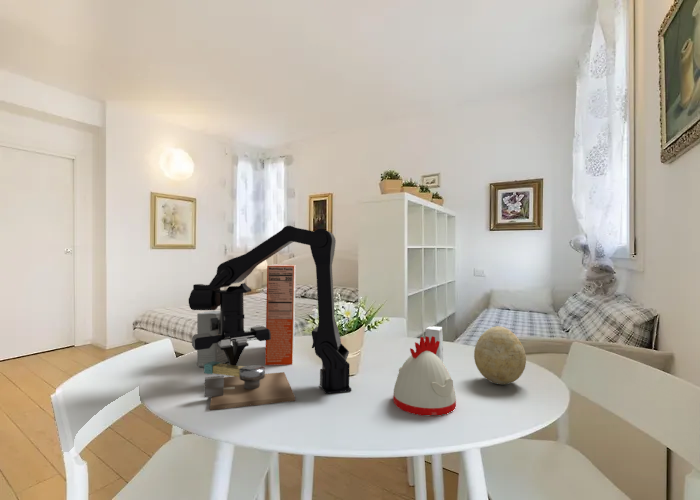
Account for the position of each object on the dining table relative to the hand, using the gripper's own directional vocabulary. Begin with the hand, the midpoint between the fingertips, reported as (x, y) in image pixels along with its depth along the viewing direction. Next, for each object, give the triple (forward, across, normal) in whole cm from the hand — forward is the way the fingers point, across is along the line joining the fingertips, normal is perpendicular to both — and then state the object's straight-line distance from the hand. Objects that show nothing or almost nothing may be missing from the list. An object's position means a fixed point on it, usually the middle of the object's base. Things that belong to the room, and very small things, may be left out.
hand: (232, 370), depth 93 cm
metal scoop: (0, 0, +4) cm, 4 cm away
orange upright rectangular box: (+4, -20, -20) cm, 29 cm away
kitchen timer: (+5, -35, +34) cm, 48 cm away
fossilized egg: (+6, -61, +34) cm, 70 cm away
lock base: (+3, -2, +7) cm, 8 cm away
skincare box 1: (+3, +1, -20) cm, 20 cm away
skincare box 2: (+5, -55, +16) cm, 58 cm away
